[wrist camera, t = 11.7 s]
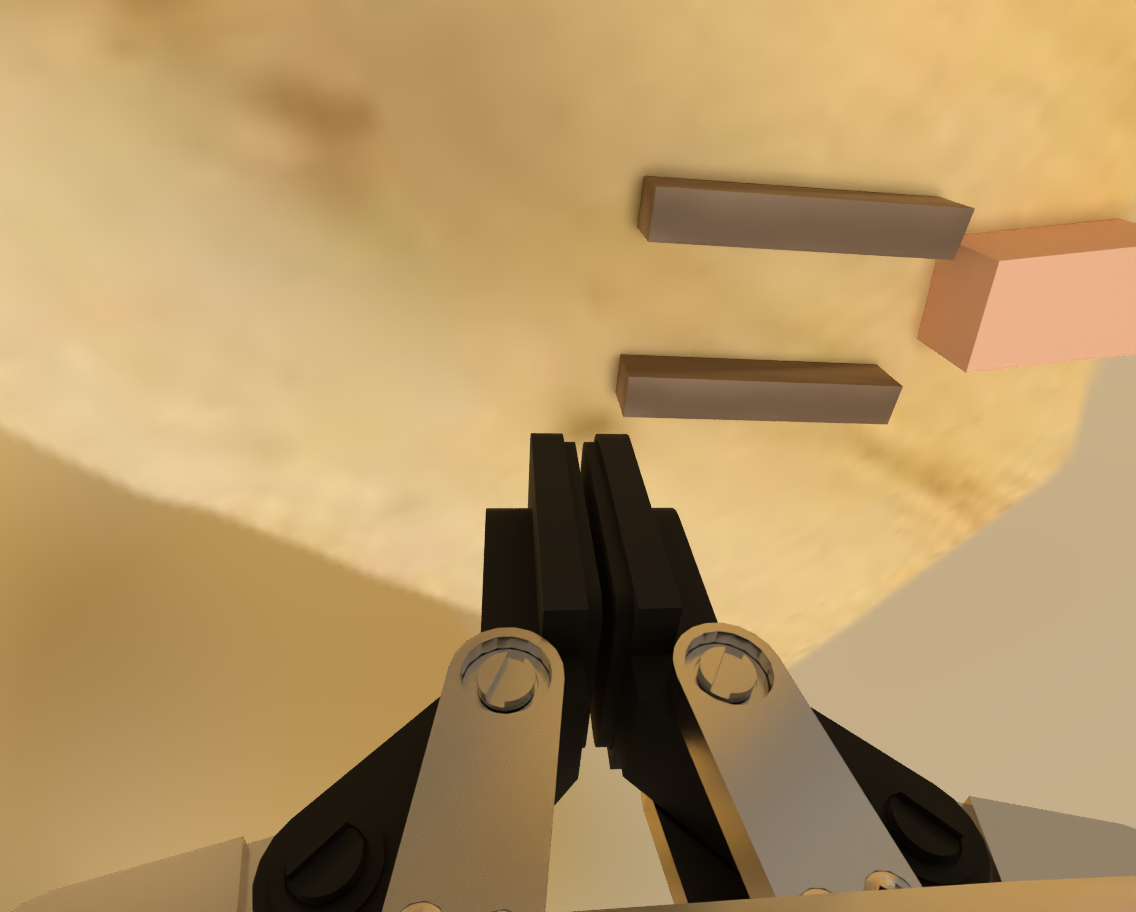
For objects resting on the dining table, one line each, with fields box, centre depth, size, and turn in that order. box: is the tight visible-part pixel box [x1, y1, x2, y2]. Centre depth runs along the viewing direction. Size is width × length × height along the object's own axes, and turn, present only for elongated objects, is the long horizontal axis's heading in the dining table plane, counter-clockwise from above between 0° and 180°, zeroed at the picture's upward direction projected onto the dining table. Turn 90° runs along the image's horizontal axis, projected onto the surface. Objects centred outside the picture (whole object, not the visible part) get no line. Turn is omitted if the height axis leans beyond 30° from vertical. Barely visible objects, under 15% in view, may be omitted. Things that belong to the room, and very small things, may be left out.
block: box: [917, 219, 1136, 373], centre depth 34 cm, size 6×10×5 cm, turn 94°
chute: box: [616, 176, 974, 424], centre depth 34 cm, size 12×16×3 cm
